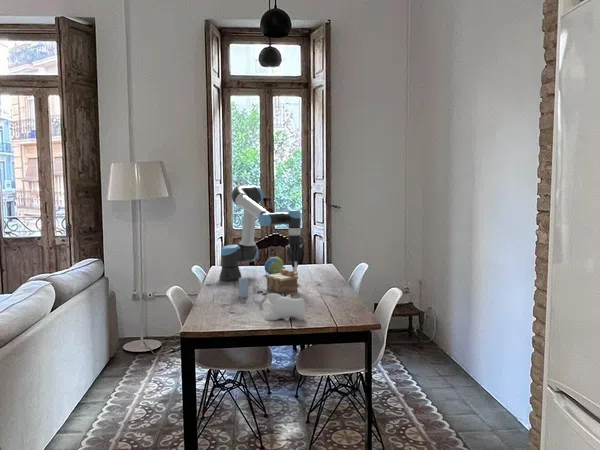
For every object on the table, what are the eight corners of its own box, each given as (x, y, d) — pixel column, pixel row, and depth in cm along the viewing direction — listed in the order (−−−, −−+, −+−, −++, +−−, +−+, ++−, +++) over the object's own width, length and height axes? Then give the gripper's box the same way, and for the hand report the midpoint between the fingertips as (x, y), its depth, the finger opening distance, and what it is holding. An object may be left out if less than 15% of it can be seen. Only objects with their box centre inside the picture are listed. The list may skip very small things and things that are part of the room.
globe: (265, 252, 388) (272, 256, 374) (284, 257, 395) (292, 261, 381) (259, 271, 388) (267, 275, 374) (279, 275, 395) (287, 280, 381)
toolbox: (267, 289, 336) (267, 276, 335) (283, 287, 342) (283, 274, 342) (280, 294, 323) (280, 280, 322) (297, 291, 329) (297, 278, 329)
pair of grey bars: (256, 292, 327) (256, 290, 326) (262, 291, 329) (262, 290, 329) (263, 295, 320) (263, 293, 320) (268, 294, 323) (268, 292, 322)
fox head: (305, 298, 278) (267, 296, 279) (305, 293, 262) (265, 291, 263) (303, 324, 275) (265, 322, 275) (304, 321, 259) (262, 318, 259)
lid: (266, 276, 335) (266, 270, 335) (283, 274, 342) (283, 268, 342) (280, 281, 321) (280, 274, 321) (298, 278, 328) (298, 271, 328)
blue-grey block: (239, 296, 318) (238, 277, 317) (245, 295, 320) (244, 277, 319) (242, 297, 314) (242, 278, 313) (248, 296, 317) (248, 278, 316)
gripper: (289, 235, 328) (289, 273, 330) (306, 234, 335) (306, 271, 338) (282, 234, 334) (282, 272, 336) (299, 233, 342) (299, 270, 344)
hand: (294, 271), depth 337 cm, fingers closed
